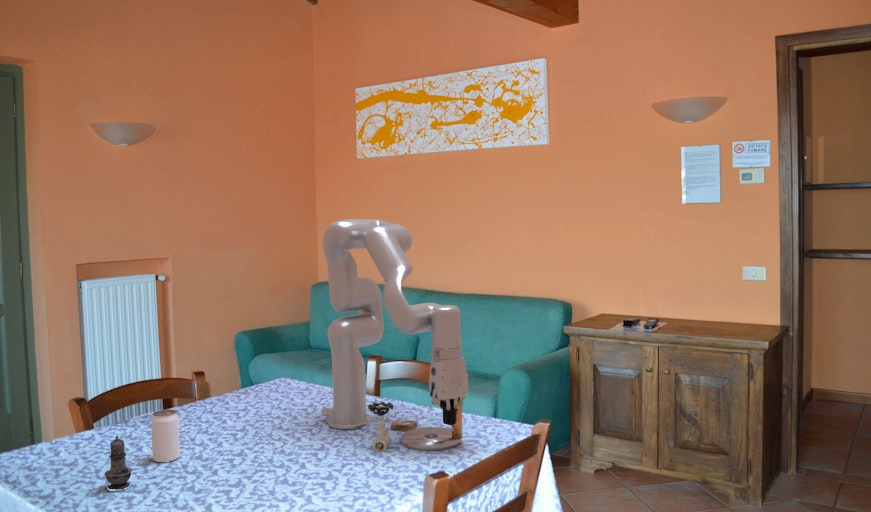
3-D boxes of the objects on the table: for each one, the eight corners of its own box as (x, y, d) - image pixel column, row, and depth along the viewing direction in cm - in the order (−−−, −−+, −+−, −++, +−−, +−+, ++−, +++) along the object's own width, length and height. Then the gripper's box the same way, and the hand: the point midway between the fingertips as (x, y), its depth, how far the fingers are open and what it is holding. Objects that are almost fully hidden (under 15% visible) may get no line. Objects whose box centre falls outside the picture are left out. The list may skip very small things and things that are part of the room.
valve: (396, 446, 189) (395, 401, 189) (392, 454, 183) (391, 408, 182) (371, 446, 190) (370, 401, 189) (366, 454, 183) (365, 408, 183)
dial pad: (391, 432, 201) (390, 423, 201) (397, 427, 206) (397, 418, 206) (411, 434, 199) (411, 425, 199) (417, 429, 204) (416, 420, 204)
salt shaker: (110, 482, 167) (108, 432, 166) (136, 481, 167) (134, 431, 166) (101, 492, 161) (98, 440, 160) (128, 491, 161) (125, 438, 160)
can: (185, 456, 185) (183, 410, 184) (168, 464, 178) (166, 416, 178) (164, 453, 187) (162, 408, 186) (147, 461, 181) (145, 415, 180)
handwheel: (431, 455, 179) (430, 418, 179) (388, 441, 191) (388, 407, 190) (473, 440, 191) (473, 405, 190) (431, 428, 202) (431, 395, 201)
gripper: (434, 359, 177) (437, 433, 177) (477, 351, 186) (480, 420, 187) (415, 356, 182) (417, 427, 183) (458, 347, 192) (460, 415, 193)
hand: (449, 423), depth 185 cm, fingers closed
